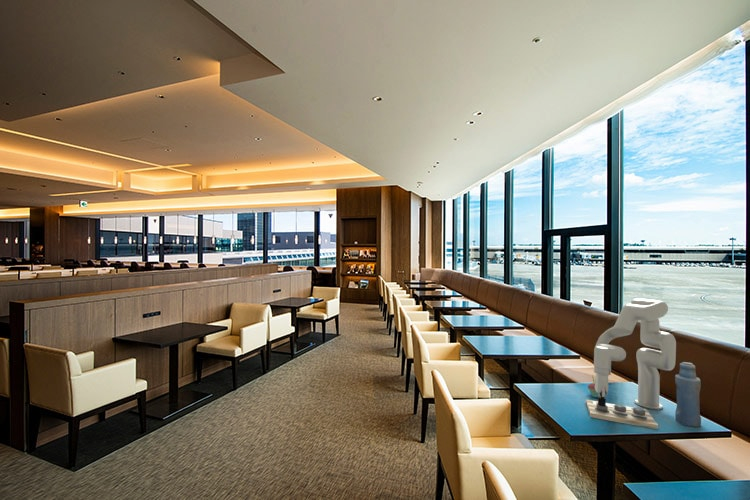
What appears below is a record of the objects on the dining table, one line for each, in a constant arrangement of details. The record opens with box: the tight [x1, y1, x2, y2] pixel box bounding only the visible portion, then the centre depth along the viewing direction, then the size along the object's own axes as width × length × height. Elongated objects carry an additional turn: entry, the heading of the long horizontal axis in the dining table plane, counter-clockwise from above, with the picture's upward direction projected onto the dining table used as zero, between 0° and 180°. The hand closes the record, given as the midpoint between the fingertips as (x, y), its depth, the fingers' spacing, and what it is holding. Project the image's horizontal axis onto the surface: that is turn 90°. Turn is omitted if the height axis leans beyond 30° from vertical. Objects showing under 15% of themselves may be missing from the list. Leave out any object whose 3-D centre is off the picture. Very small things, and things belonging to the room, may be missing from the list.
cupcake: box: [587, 374, 598, 398], centre depth 213 cm, size 9×8×12 cm
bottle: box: [674, 361, 702, 428], centre depth 180 cm, size 10×10×30 cm
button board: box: [585, 399, 659, 430], centre depth 187 cm, size 20×28×2 cm
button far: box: [596, 404, 608, 411], centre depth 187 cm, size 5×5×2 cm
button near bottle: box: [633, 407, 645, 416], centre depth 181 cm, size 5×5×2 cm
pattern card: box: [592, 400, 633, 411], centre depth 192 cm, size 5×22×1 cm, turn 65°
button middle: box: [614, 404, 626, 412], centre depth 184 cm, size 5×5×2 cm
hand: (601, 405), depth 187 cm, fingers closed
